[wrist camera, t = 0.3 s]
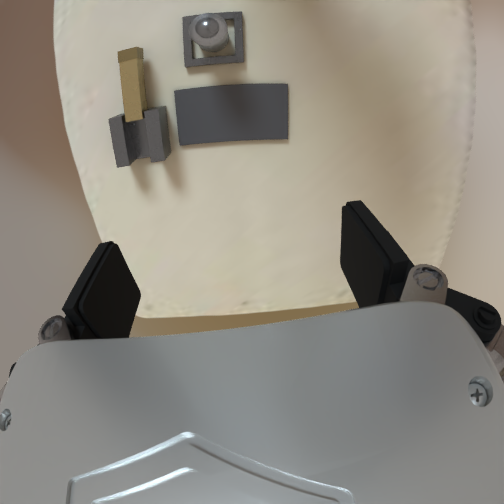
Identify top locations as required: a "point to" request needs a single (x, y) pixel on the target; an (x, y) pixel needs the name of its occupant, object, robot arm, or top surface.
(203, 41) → the peg
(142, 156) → the socket block
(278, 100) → the mat
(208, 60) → the socket collar
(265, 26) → the top surface
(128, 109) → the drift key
